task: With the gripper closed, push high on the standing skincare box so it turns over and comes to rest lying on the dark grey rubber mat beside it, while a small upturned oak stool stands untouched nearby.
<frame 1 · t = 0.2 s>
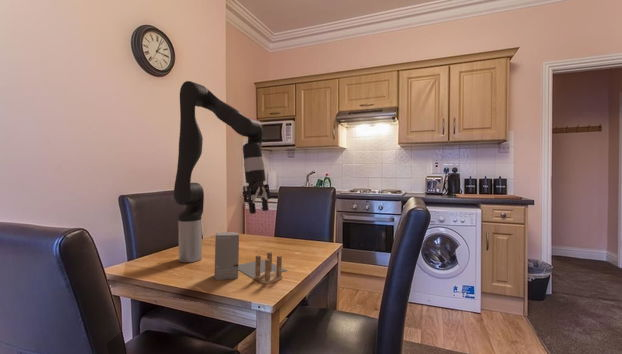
hand: (259, 212, 112), 22 cm above the table, tool pointing down, fingers open, 8 cm apart
mat: (259, 269, 115), on the table
skincare box: (227, 277, 106), on the table
stool: (268, 278, 103), on the table, touching mat
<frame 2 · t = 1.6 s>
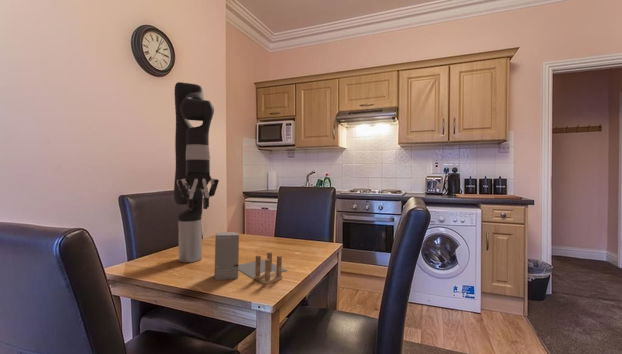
hand: (198, 209, 100), 25 cm above the table, tool pointing down, fingers open, 4 cm apart
nothing on the table moved.
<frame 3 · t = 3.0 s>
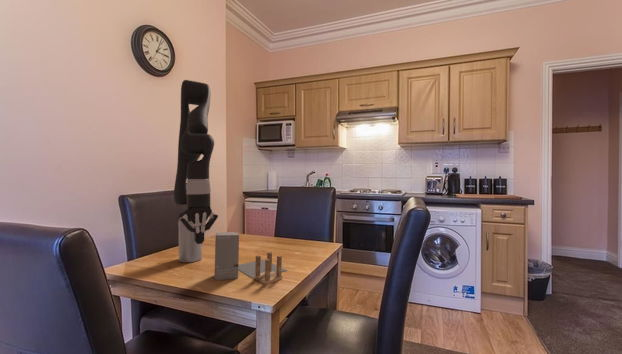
hand: (199, 243, 100), 14 cm above the table, tool pointing down, fingers closed
nothing on the table moved.
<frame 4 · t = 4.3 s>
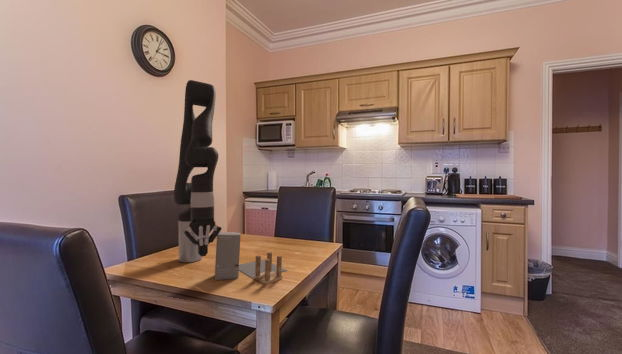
hand: (202, 255, 101), 9 cm above the table, tool pointing down, fingers closed
skincare box: (227, 276, 106), on the table, touching hand
everything else where it was.
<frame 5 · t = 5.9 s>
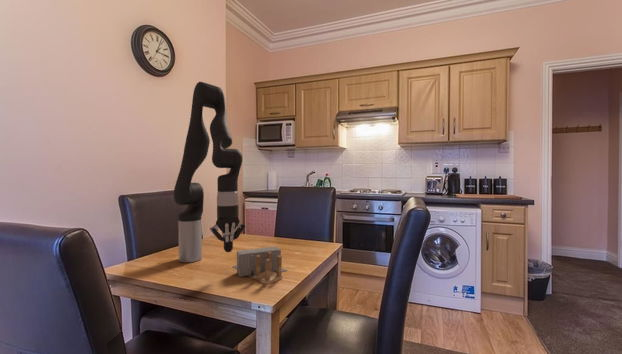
hand: (228, 251, 107), 9 cm above the table, tool pointing down, fingers closed
skincare box: (236, 264, 107), point 4 cm above the table, touching mat
everything else where it was.
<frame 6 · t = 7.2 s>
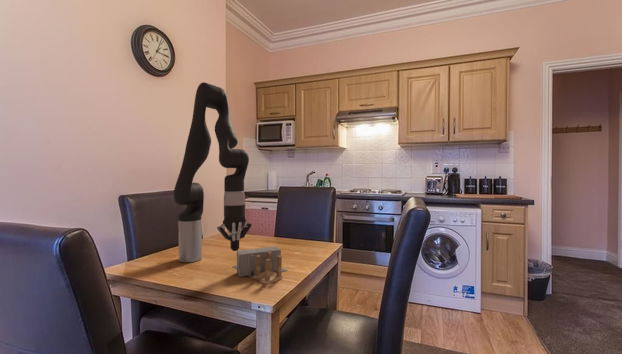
hand: (234, 250, 108), 9 cm above the table, tool pointing down, fingers closed
nothing on the table moved.
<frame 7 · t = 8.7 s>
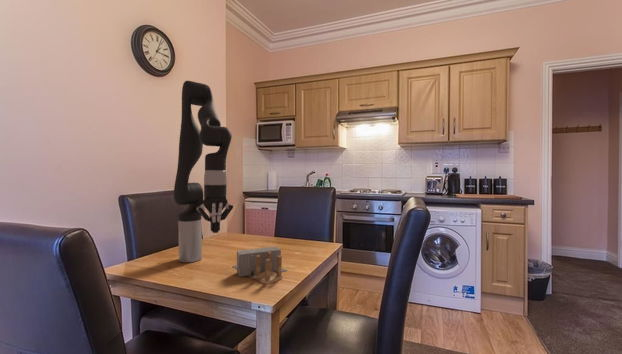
hand: (215, 232, 104), 17 cm above the table, tool pointing down, fingers closed
nothing on the table moved.
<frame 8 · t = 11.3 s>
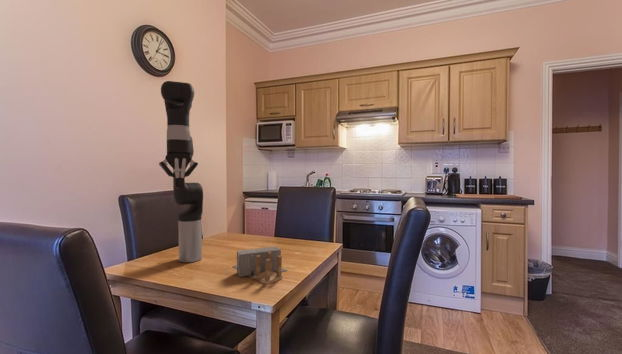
hand: (179, 188, 103), 32 cm above the table, tool pointing down, fingers closed
nothing on the table moved.
at the end: skincare box tilted 88°; skincare box inside the target area (4.5 cm from its centre), point 4.2 cm above the table; stool moved 0.2 cm from its start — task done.
